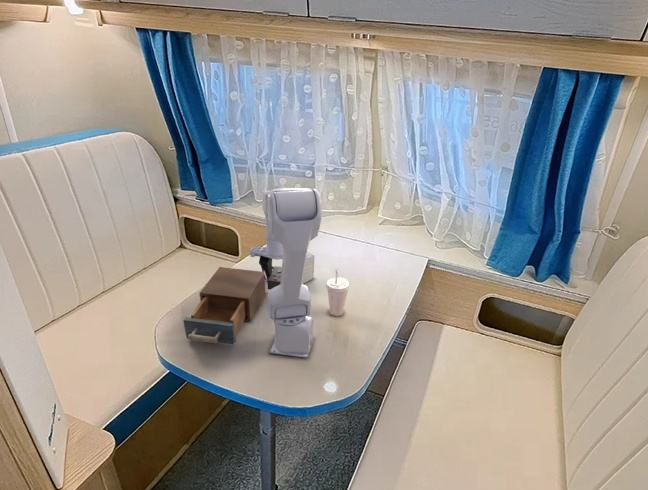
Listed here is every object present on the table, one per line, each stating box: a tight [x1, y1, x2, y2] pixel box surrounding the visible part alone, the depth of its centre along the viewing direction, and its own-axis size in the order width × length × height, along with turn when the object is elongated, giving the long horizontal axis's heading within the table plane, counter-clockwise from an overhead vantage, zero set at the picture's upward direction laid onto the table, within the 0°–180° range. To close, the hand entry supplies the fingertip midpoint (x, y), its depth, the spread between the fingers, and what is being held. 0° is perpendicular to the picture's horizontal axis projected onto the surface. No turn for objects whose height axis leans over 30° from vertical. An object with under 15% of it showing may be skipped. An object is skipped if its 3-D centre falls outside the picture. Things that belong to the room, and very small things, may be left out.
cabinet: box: [199, 266, 266, 323], centre depth 121 cm, size 15×14×8 cm
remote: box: [266, 265, 282, 291], centre depth 117 cm, size 4×8×3 cm, turn 173°
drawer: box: [183, 296, 247, 346], centre depth 110 cm, size 18×12×6 cm
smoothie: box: [326, 268, 351, 317], centre depth 119 cm, size 6×6×14 cm
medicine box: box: [302, 251, 315, 285], centre depth 134 cm, size 8×4×9 cm, turn 141°
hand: (278, 281), depth 117 cm, fingers closed on remote, 4 cm apart
